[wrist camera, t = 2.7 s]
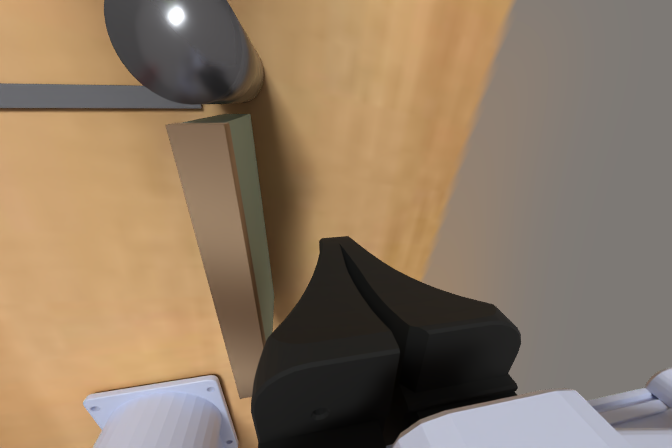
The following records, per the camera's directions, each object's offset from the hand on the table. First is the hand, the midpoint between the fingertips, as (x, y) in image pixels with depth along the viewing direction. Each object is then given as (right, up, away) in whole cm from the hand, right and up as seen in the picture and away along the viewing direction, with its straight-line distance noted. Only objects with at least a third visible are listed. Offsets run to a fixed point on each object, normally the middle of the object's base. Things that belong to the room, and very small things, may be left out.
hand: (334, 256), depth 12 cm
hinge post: (-4, +8, -1) cm, 9 cm away
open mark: (-11, +6, -2) cm, 12 cm away
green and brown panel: (-4, +2, +1) cm, 4 cm away
